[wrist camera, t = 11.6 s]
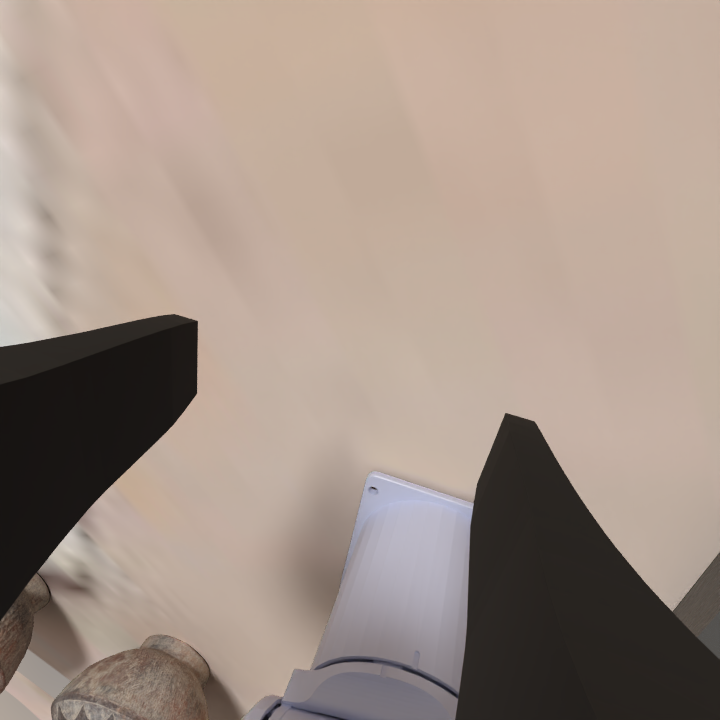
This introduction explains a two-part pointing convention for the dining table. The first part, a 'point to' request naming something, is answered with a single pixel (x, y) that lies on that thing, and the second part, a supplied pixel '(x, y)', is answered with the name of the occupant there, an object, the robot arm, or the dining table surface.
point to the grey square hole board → (704, 608)
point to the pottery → (113, 673)
